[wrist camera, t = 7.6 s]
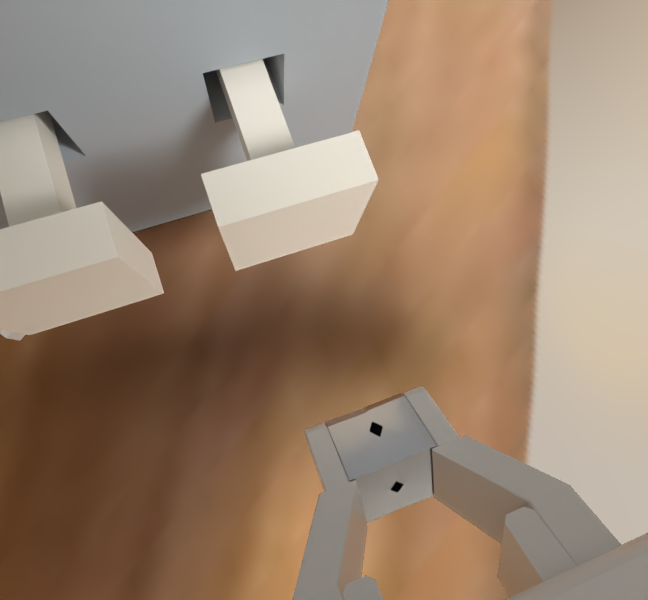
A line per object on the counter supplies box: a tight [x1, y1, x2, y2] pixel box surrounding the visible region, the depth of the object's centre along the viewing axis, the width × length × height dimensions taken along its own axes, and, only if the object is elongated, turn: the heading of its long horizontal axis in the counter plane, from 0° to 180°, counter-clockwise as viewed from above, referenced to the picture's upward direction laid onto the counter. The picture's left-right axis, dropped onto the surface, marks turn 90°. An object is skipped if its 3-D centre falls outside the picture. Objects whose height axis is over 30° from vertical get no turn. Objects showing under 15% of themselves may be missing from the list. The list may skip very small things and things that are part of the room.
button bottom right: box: [201, 59, 378, 271], centre depth 11 cm, size 4×6×4 cm, turn 19°
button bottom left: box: [0, 111, 164, 335], centre depth 11 cm, size 4×6×4 cm, turn 20°
